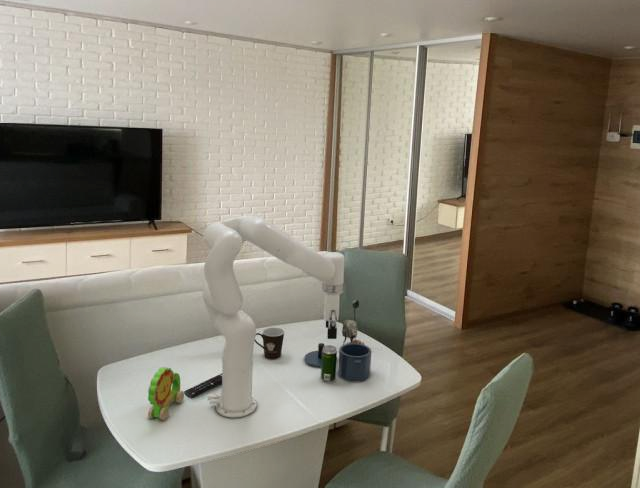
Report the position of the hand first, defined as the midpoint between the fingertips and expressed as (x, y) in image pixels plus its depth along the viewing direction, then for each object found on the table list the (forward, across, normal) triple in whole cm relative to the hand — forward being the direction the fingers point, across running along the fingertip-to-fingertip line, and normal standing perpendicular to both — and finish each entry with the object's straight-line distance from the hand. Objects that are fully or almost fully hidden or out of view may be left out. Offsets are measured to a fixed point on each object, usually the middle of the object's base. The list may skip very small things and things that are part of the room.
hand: (330, 332), depth 189 cm
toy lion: (+17, +20, -53) cm, 60 cm away
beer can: (+18, 0, 0) cm, 18 cm away
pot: (+18, -4, +10) cm, 21 cm away
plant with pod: (+18, -27, +12) cm, 34 cm away
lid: (+17, -15, -2) cm, 23 cm away
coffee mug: (+18, -20, -22) cm, 35 cm away
